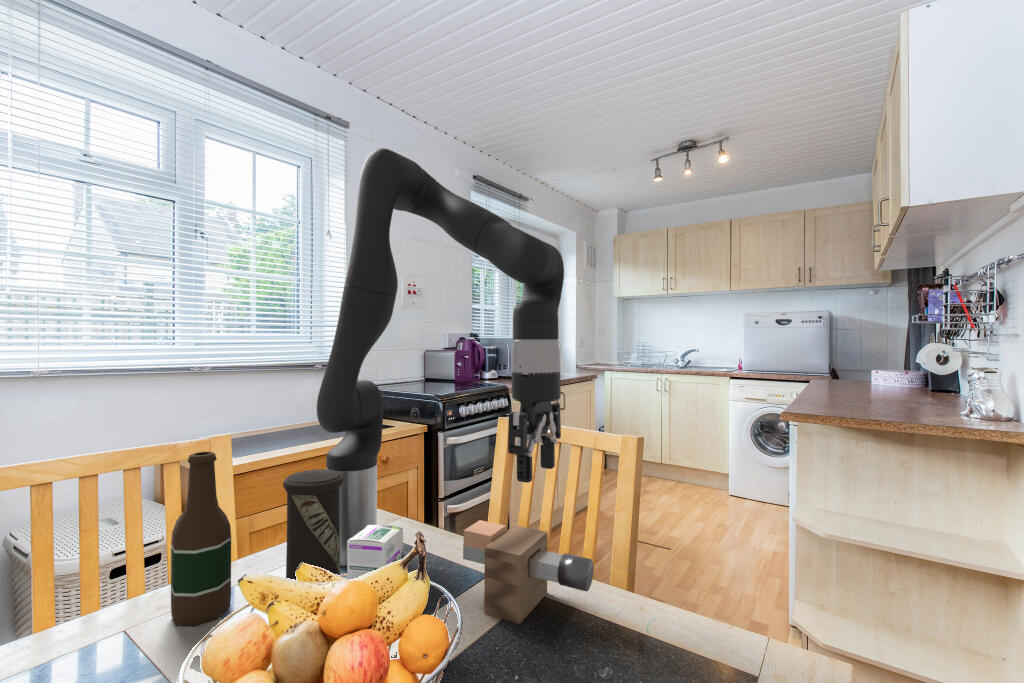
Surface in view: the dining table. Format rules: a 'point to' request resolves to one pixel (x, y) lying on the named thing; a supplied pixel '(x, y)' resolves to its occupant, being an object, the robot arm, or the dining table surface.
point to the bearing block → (513, 574)
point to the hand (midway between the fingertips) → (536, 474)
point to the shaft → (550, 567)
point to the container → (313, 520)
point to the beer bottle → (200, 550)
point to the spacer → (482, 534)
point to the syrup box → (373, 549)
